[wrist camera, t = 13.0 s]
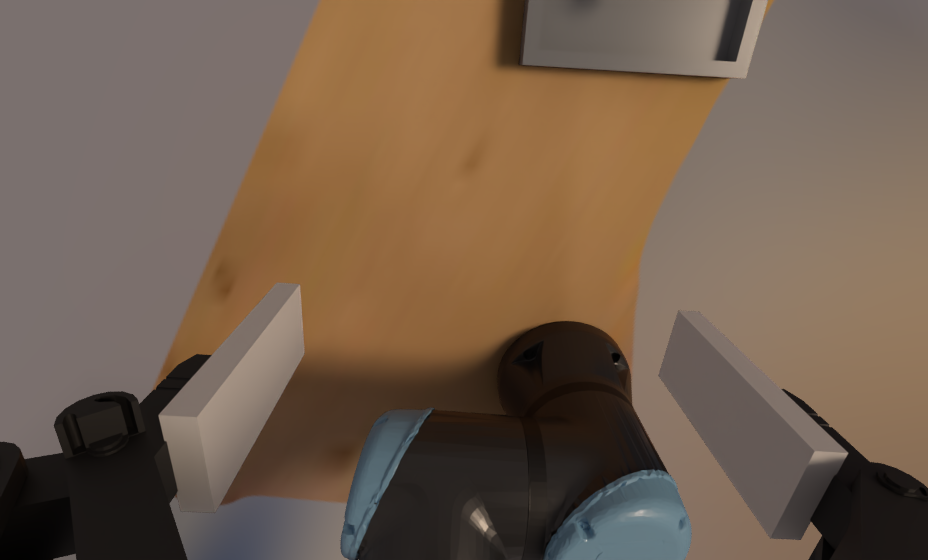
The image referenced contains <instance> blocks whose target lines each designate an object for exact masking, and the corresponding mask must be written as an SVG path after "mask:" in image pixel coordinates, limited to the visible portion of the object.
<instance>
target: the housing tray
mask: <svg viewBox="0 0 928 560" xmlns="http://www.w3.org/2000/svg"><path fill="white" fill-rule="evenodd" d="M767 2H768V0H525V5H524V15H523V26H522V36H521V47H520V57H519V65H524V66H541V67H557V68H573V69H589V70H605V71H621V72H638V73H654V74H670V75H686V76H702V77H719V78H746V75H747V72H748V68H749V65H750V61H751V58H752V54H753V51H754V47H755V44H756V40H757V37H758V33H759V30H760V26H761V23H762V19H763V16H764V12H765V9H766V5H767Z"/></svg>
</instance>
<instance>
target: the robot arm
mask: <svg viewBox="0 0 928 560" xmlns="http://www.w3.org/2000/svg"><path fill="white" fill-rule="evenodd" d="M304 354H305V353H304V338H303V323H302V308H301V293H300V284H289V283H276V284H275V285H274V286H273V288H272V289H271V290H270V291H269V292H268V293H267V294H266V295H265V297H264V298H263V299H262V300H261V301H260V302H259V303H258V304H257V305H256V307H255V308H254V309H253V310H252V311H251V312H250V313H249V314H248V316H247V317H246V318H245V319H244V320H243V321H242V322H241V323H240V324H239V326H238V327H237V328H236V329H235V330H234V331H233V332H232V333H231V335H230V336H229V337H228V338H227V339H226V340H225V341H224V342H223V343H222V345H221V346H220V347H219V348H218V349H217V350H216V351H215V352H214V353H213V355H200V354H196V355H194V356H193V357H191V358H189V359H187V360H186V361H184V362H182V363H180V364H178V365H177V366H176V368H175V369H174V370H173V371H172V372H171V373H170V374H169V375H168V376H167V377H166V379H164V380H163V381H162V382H161V383H160V384H159V385H158V386H157V387H156V390H153V391H152V392H151V393H150V394H149V395H148V396H147V397H146V398H145V399H144V400H143V401H142V402H141V403H140V404H139V402H138V400H137V398H136V397H135V396H134V395H133V394H129V393H126V392H106V393H101V394H96V395H93V396H90V397H87V398H84V399H82V400H79V401H77V402H76V403H74V404H72V405H71V406H69V407H67V408H66V409H64V410H63V412H62V413H61V414H59V415H58V417H57V418H56V421H55V424H54V428H55V431H56V433H57V436H58V439H59V442H60V445H61V447H62V451H63V453H59V454H53V455H47V456H41V457H35V458H29V459H24V457H23V455H22V452H21V450H20V448H19V447H17V446H16V445H15V444H13V443H7V442H0V560H53V559H54V558H59V557H63V556H68V555H72V554H76V559H77V560H187V557H186V554H185V551H184V548H183V544H182V541H181V538H180V535H179V532H178V529H177V526H176V523H175V520H174V517H173V514H172V511H171V507H170V505H169V503H170V502H171V500H172V499H173V498H174V496H175V495H176V493H177V498H178V502H179V506H180V510H181V511H182V512H203V513H215V512H216V510H217V509H218V507H219V505H220V503H221V502H222V500H223V498H224V496H225V495H226V493H227V491H228V489H229V487H230V486H231V484H232V482H233V480H234V479H235V477H236V475H237V473H238V471H239V470H240V468H241V466H242V464H243V462H244V461H245V459H246V457H247V455H248V454H249V452H250V450H251V448H252V446H253V445H254V443H255V441H256V439H257V437H258V436H259V434H260V432H261V430H262V429H263V427H264V425H265V423H266V421H267V420H268V418H269V416H270V414H271V412H272V411H273V409H274V407H275V405H276V404H277V402H278V400H279V398H280V396H281V395H282V393H283V391H284V389H285V388H286V386H287V384H288V382H289V380H290V379H291V377H292V375H293V373H294V371H295V370H296V368H297V366H298V364H299V363H300V361H301V359H302V357H303V355H304ZM659 377H660V378H661V380H662V381H663V383H664V384H665V386H666V387H667V389H668V390H669V392H670V393H671V394H672V396H673V397H674V399H675V400H676V402H677V403H678V405H679V406H680V407H681V409H682V410H683V412H684V413H685V415H686V416H687V418H688V419H689V421H690V422H691V423H692V425H693V427H694V428H695V429H696V431H697V432H698V434H699V435H700V437H701V438H702V440H703V441H704V443H705V444H706V446H707V447H708V448H709V450H710V451H711V453H712V454H713V456H714V457H715V458H716V460H717V462H718V463H719V464H720V466H721V467H722V469H723V470H724V472H725V473H726V475H727V476H728V478H729V479H730V481H731V482H732V483H733V485H734V486H735V488H736V489H737V491H738V492H739V493H740V495H741V497H742V498H743V499H744V501H745V502H746V504H747V505H748V507H749V508H750V510H751V511H752V513H753V514H754V516H755V517H756V518H757V520H758V521H759V523H760V524H761V526H762V527H763V528H764V530H765V531H766V533H767V534H768V536H769V537H770V538H774V539H795V540H801V538H802V536H803V535H804V533H805V531H806V529H807V527H808V525H809V524H810V522H812V523H813V524H814V526H815V527H816V528H817V529H818V531H819V532H820V533H821V534H822V537H821V539H820V540H819V542H818V544H817V546H816V548H815V549H814V551H813V553H812V554H811V556H810V558H809V560H928V488H927V487H926V486H925V485H924V484H922V483H921V482H919V481H918V480H916V479H915V478H913V477H912V476H911V475H909V474H906V473H905V472H903V471H901V470H899V469H897V468H894V467H891V466H888V465H885V464H881V463H874V462H869V461H868V460H867V459H866V458H865V457H864V456H863V455H862V454H860V453H859V452H858V451H857V450H856V449H855V448H854V447H853V446H852V445H851V444H850V443H848V442H847V441H846V440H845V439H844V438H843V437H842V436H841V435H840V434H839V433H838V432H837V431H836V430H834V429H833V428H832V427H829V424H828V423H827V422H826V421H825V420H823V419H822V418H821V417H820V416H819V417H818V416H817V413H816V412H815V411H814V410H813V409H812V408H811V407H809V406H808V405H807V404H806V403H805V402H804V401H802V400H801V399H799V398H798V397H796V396H795V395H793V394H791V393H790V392H788V391H786V390H785V389H780V388H779V387H778V386H777V385H776V384H775V383H774V382H773V381H772V380H771V379H770V378H769V377H768V376H767V375H765V373H763V372H762V371H761V370H760V369H759V368H758V367H757V366H756V365H755V364H754V363H753V362H752V361H751V360H750V359H749V358H747V356H746V355H744V354H743V353H742V352H741V351H740V350H739V349H738V348H737V347H736V346H735V345H734V344H733V343H732V342H731V341H730V340H729V339H728V338H727V337H725V336H724V335H723V334H722V333H721V332H720V331H719V330H718V329H717V328H716V327H715V326H714V325H713V324H712V323H711V322H709V320H708V319H707V318H705V317H704V316H703V315H702V314H701V313H700V312H695V311H680V310H679V311H678V313H677V317H676V320H675V323H674V326H673V330H672V333H671V336H670V340H669V343H668V346H667V350H666V353H665V356H664V359H663V362H662V366H661V369H660V373H659ZM497 383H498V391H499V398H500V401H501V404H502V407H503V409H504V411H505V413H506V414H507V415H496V414H481V413H467V412H453V411H439V410H435V408H431V407H429V408H427V409H426V410H415V409H394V410H390V411H387V412H385V413H384V414H382V415H381V416H380V417H379V418H378V419H377V420H376V422H375V423H374V425H373V426H372V428H371V430H370V432H369V434H368V437H367V439H366V441H365V444H364V447H363V449H362V452H361V455H360V458H359V461H358V464H357V468H356V471H355V474H354V478H353V481H352V485H351V489H350V493H349V497H348V501H347V506H346V511H345V522H344V526H343V531H342V535H341V553H342V555H343V556H344V557H345V558H348V559H349V560H358V559H359V560H685V558H686V555H687V553H688V550H689V548H690V544H691V534H692V533H691V524H690V520H689V517H688V514H687V512H686V510H685V507H684V505H683V502H682V500H681V498H680V495H679V493H678V488H677V485H676V483H675V481H674V479H673V478H672V477H671V475H669V473H668V472H667V470H666V468H665V466H664V464H663V462H662V461H661V459H660V457H659V455H658V453H657V451H656V450H655V448H654V446H653V444H652V442H651V440H650V438H649V436H648V434H647V433H646V431H645V429H644V427H643V425H642V423H641V421H640V419H639V417H638V416H637V414H636V412H635V410H634V408H633V406H632V390H631V374H630V369H629V366H628V363H627V360H626V358H625V357H624V355H623V353H622V351H621V350H620V348H619V346H618V345H617V344H616V342H615V341H614V340H613V339H612V338H611V337H610V336H609V335H608V334H606V333H605V332H603V331H602V330H600V329H598V328H596V327H594V326H591V325H588V324H584V323H579V322H556V323H550V324H546V325H543V326H540V327H538V328H535V329H533V330H531V331H529V332H527V333H526V334H524V335H523V336H521V337H520V338H519V339H518V340H516V341H515V342H514V343H513V344H512V345H511V346H510V348H509V349H508V350H507V352H506V353H505V355H504V356H503V358H502V360H501V363H500V366H499V369H498V375H497Z"/></svg>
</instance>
